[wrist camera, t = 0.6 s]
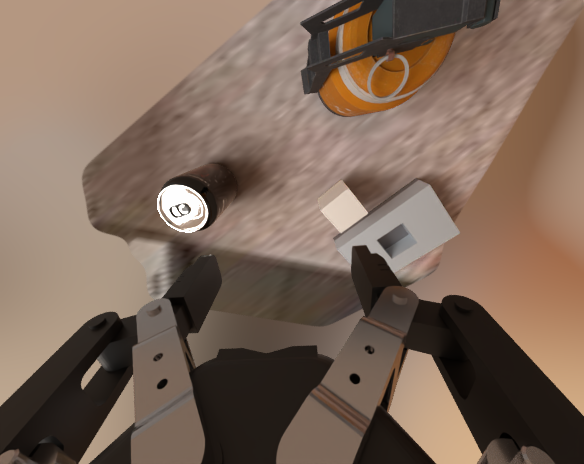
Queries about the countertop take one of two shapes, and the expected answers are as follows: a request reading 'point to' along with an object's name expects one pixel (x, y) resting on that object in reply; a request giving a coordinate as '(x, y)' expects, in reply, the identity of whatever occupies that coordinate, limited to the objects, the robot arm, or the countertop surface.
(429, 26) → the canister
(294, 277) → the countertop surface
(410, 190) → the grey rectangular block
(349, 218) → the cream rectangular block
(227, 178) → the beverage can
